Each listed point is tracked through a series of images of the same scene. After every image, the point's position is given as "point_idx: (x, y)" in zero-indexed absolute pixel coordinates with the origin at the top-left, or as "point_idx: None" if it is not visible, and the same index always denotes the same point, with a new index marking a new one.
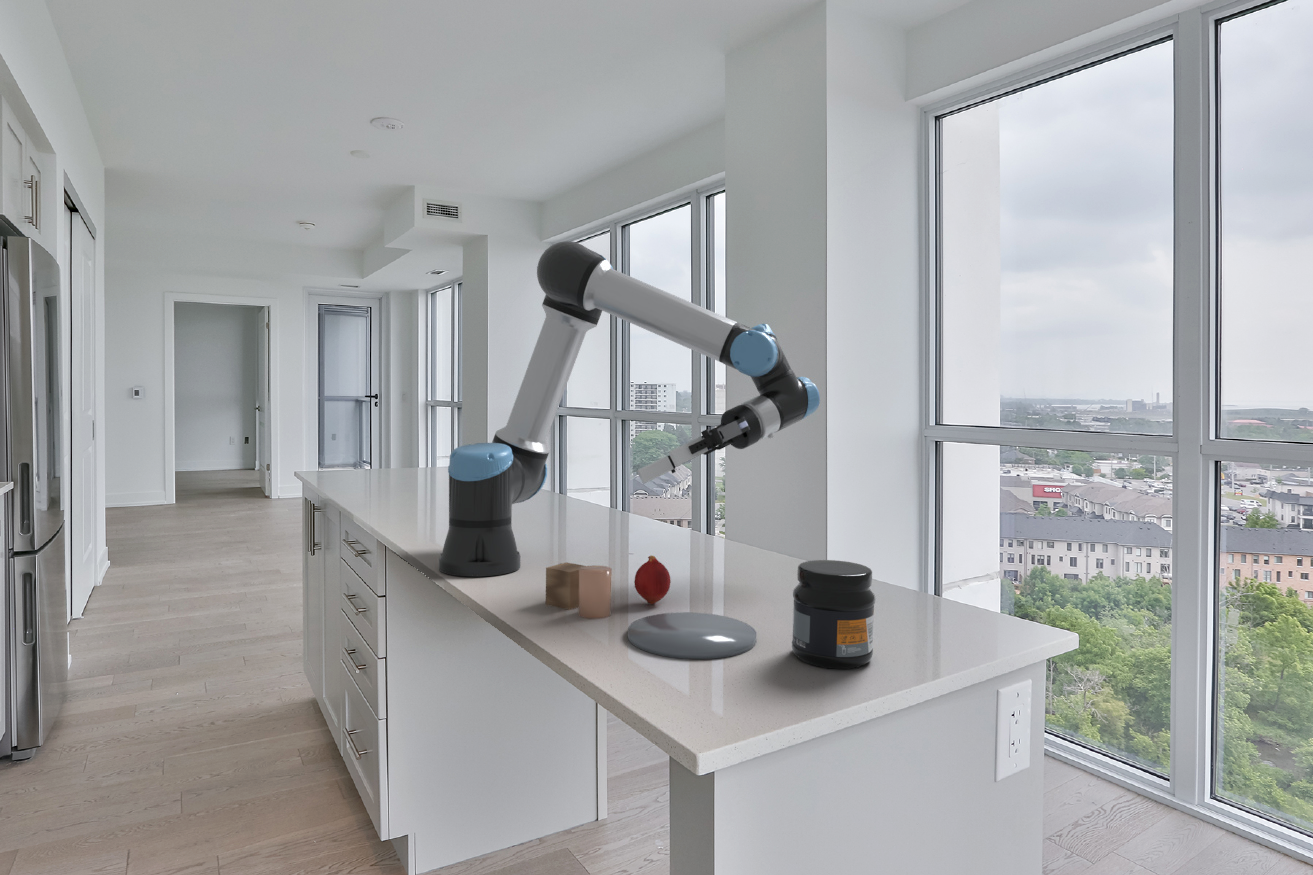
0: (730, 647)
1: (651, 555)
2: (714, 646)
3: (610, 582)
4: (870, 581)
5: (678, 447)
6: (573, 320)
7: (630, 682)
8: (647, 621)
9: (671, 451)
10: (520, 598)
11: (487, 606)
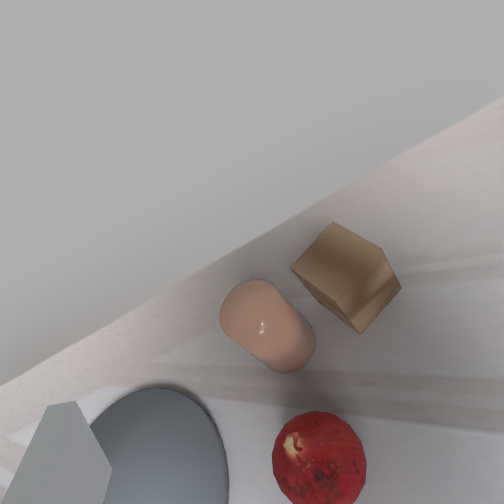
0: None
1: (288, 439)
2: None
3: (244, 347)
4: None
5: (21, 466)
6: None
7: (54, 381)
8: (188, 426)
9: (48, 416)
10: (398, 215)
11: (351, 184)
